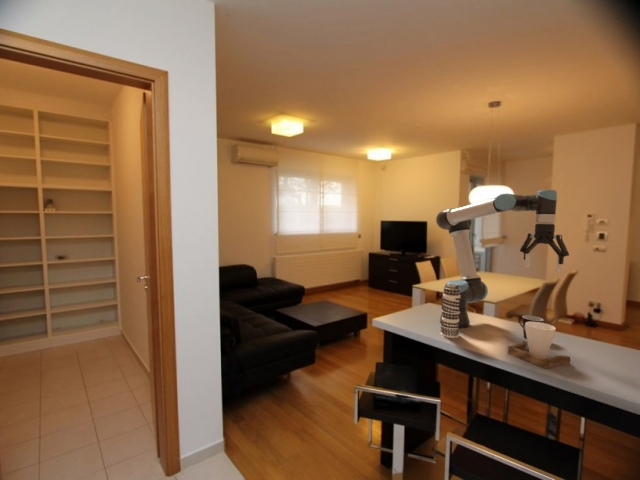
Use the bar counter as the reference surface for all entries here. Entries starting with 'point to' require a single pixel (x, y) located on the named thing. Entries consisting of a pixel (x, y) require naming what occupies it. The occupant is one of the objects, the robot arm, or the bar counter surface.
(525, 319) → the coffee mug
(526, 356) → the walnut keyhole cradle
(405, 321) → the bar counter surface
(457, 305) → the decorative candle
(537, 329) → the cup
